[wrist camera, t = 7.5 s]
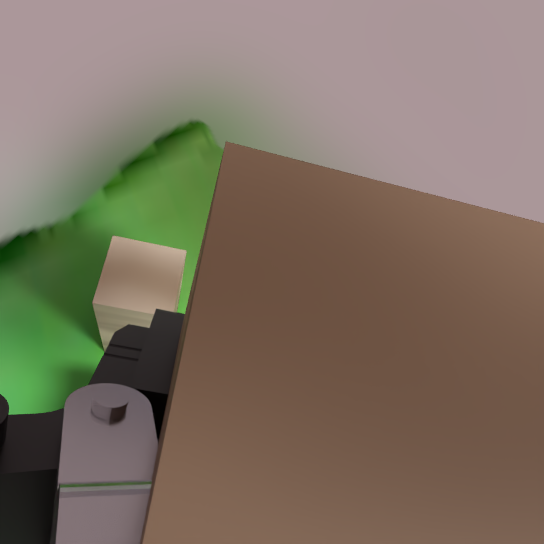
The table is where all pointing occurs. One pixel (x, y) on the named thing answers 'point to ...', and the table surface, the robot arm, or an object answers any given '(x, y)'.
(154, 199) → the table surface
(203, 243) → the walnut peg
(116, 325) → the birch peg
